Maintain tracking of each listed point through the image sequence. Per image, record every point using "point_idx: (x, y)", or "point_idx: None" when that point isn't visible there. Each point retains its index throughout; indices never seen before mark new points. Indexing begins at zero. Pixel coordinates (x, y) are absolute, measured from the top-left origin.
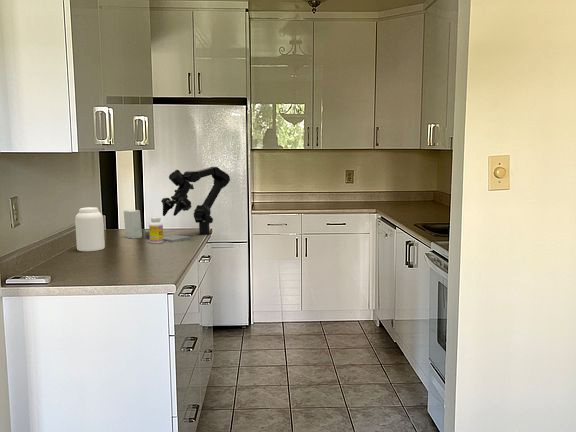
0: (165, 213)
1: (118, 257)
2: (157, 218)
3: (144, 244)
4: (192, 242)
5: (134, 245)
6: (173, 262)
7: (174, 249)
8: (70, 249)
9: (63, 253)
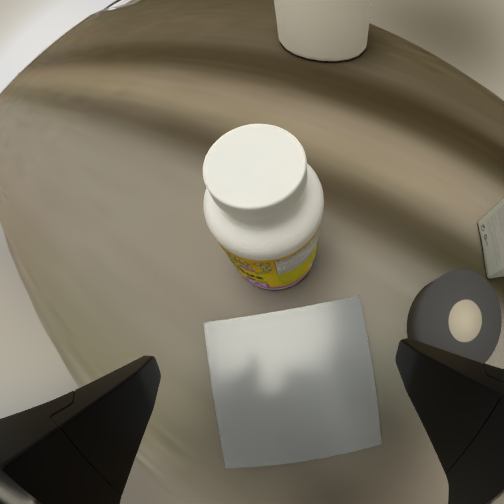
0: (412, 385)
1: (138, 63)
2: (205, 161)
3: None
4: None
5: None
6: (6, 149)
7: (69, 220)
8: None
9: None
